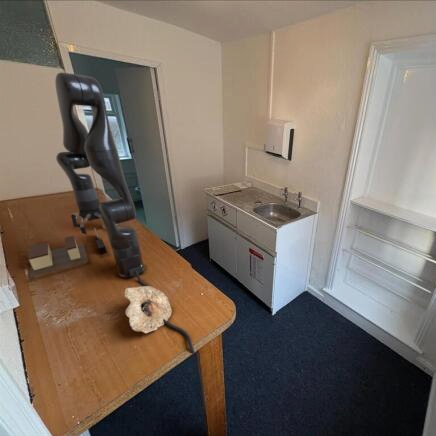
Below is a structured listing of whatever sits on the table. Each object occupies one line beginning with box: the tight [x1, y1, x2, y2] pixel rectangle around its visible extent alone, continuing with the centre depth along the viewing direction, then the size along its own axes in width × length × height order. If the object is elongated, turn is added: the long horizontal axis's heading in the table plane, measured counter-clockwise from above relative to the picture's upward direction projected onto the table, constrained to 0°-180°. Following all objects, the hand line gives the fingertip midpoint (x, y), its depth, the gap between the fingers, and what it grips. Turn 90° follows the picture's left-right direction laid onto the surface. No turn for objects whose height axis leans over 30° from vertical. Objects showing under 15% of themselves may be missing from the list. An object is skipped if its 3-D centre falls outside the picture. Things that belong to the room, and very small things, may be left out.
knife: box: [93, 227, 108, 255], centre depth 115 cm, size 21×2×6 cm, turn 44°
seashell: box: [124, 285, 172, 334], centre depth 81 cm, size 18×14×8 cm
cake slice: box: [64, 235, 80, 260], centre depth 107 cm, size 12×3×6 cm, turn 44°
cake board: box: [29, 242, 89, 278], centre depth 104 cm, size 20×18×2 cm
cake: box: [27, 241, 53, 270], centre depth 100 cm, size 12×6×6 cm, turn 44°
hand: (97, 231), depth 108 cm, fingers open, 8 cm apart
